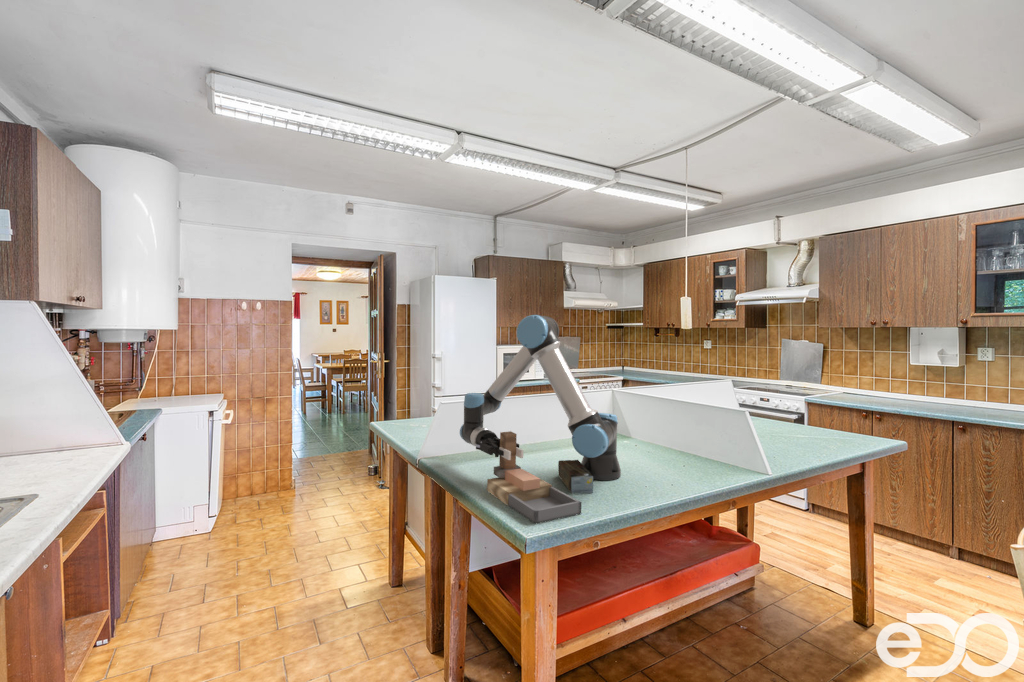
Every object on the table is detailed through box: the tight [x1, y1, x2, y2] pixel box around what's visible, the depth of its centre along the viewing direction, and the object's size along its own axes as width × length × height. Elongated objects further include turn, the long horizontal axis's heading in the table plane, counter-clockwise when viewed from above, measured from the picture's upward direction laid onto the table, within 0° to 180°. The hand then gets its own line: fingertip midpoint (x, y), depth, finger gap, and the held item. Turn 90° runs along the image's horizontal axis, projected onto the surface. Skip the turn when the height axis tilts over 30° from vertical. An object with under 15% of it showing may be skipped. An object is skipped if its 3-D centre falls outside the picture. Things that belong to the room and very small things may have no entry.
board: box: [486, 477, 553, 506], centre depth 154 cm, size 14×16×4 cm
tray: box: [507, 486, 582, 525], centre depth 141 cm, size 15×16×4 cm
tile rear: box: [505, 467, 530, 485], centre depth 155 cm, size 6×6×3 cm
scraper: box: [493, 430, 522, 478], centre depth 159 cm, size 4×8×14 cm, turn 119°
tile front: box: [514, 472, 541, 491], centre depth 150 cm, size 6×6×3 cm
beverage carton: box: [557, 459, 594, 494], centre depth 165 cm, size 8×19×7 cm, turn 7°
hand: (516, 454), depth 154 cm, fingers closed on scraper, 4 cm apart
